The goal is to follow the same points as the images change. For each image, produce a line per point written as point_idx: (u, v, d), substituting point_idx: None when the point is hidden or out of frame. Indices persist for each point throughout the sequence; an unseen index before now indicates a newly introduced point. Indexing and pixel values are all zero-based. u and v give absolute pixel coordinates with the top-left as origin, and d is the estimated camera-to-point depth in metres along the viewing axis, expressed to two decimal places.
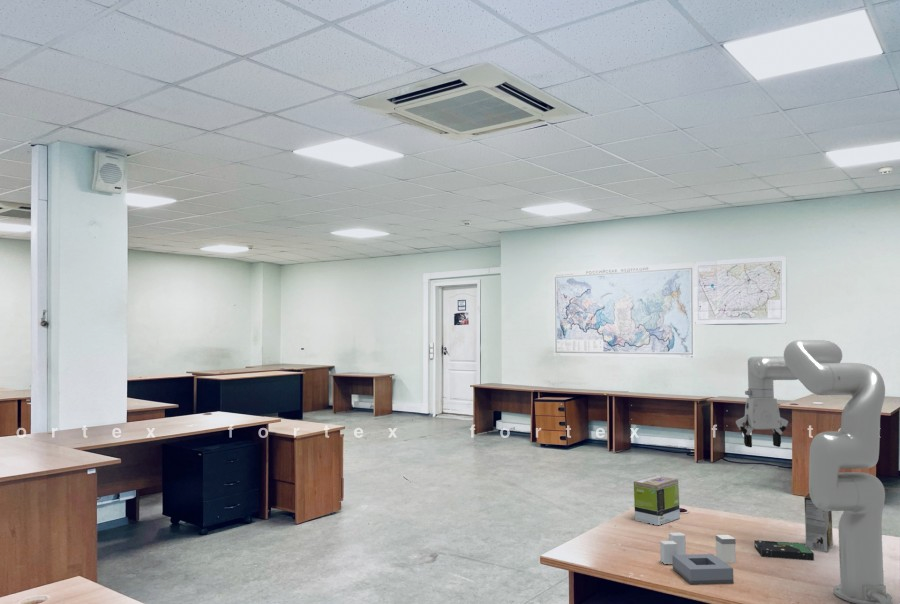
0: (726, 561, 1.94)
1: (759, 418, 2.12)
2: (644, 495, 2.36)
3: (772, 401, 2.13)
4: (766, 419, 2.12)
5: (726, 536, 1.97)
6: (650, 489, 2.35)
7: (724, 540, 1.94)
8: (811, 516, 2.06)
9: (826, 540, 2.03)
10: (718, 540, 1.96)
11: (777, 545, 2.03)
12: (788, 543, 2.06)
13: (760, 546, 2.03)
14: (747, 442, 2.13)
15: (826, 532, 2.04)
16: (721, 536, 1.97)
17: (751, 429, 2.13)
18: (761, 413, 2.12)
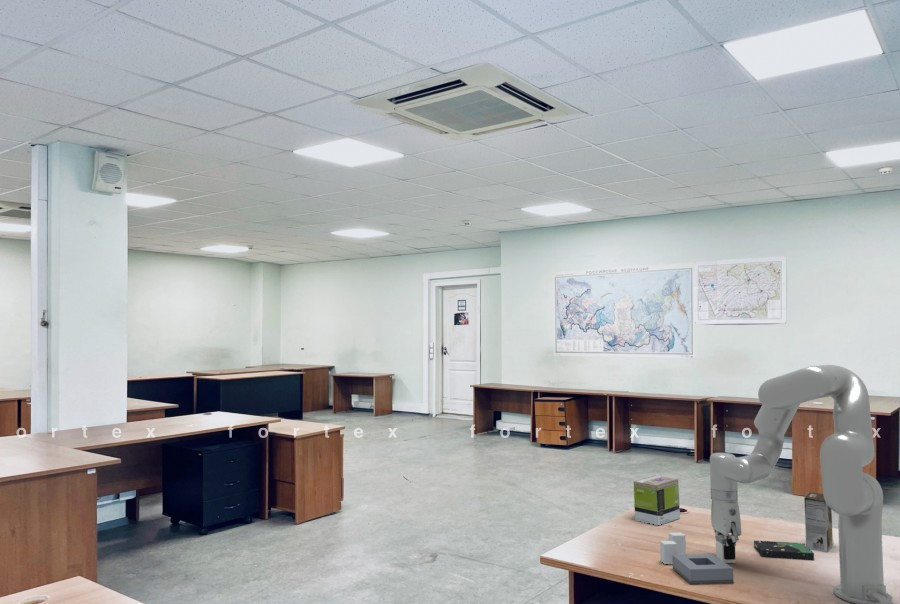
0: (726, 561, 1.94)
1: None
2: (645, 495, 2.36)
3: None
4: None
5: None
6: (650, 489, 2.35)
7: (724, 540, 1.94)
8: (811, 516, 2.06)
9: (826, 540, 2.03)
10: (718, 540, 1.96)
11: (777, 545, 2.03)
12: (788, 543, 2.05)
13: (760, 546, 2.03)
14: None
15: (826, 532, 2.04)
16: (721, 536, 1.97)
17: None
18: None
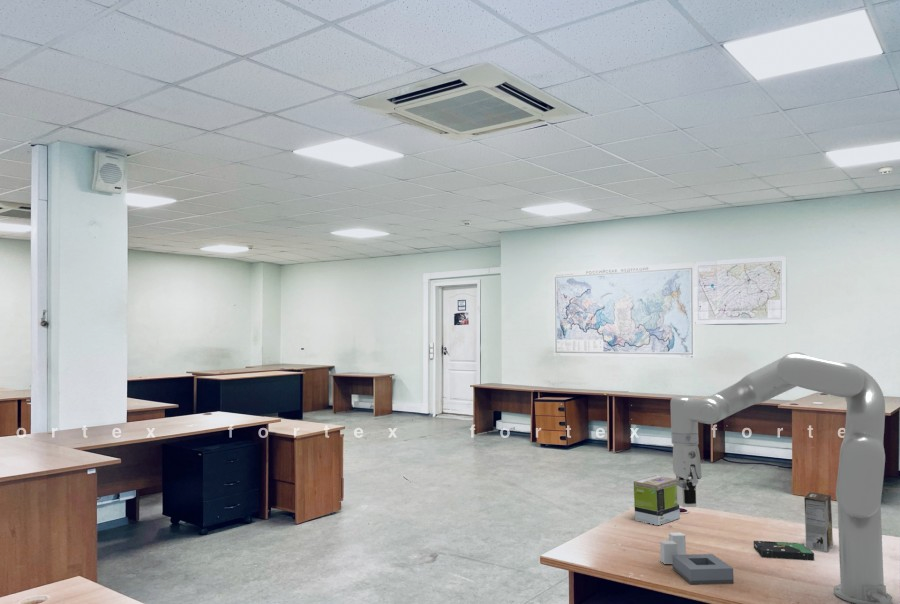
0: (686, 505, 1.90)
1: None
2: (644, 495, 2.36)
3: None
4: None
5: None
6: (650, 489, 2.35)
7: (684, 484, 1.90)
8: (811, 516, 2.06)
9: (826, 540, 2.03)
10: (679, 484, 1.92)
11: (777, 545, 2.03)
12: (787, 543, 2.05)
13: (760, 547, 2.02)
14: None
15: (826, 532, 2.04)
16: (682, 480, 1.92)
17: None
18: None
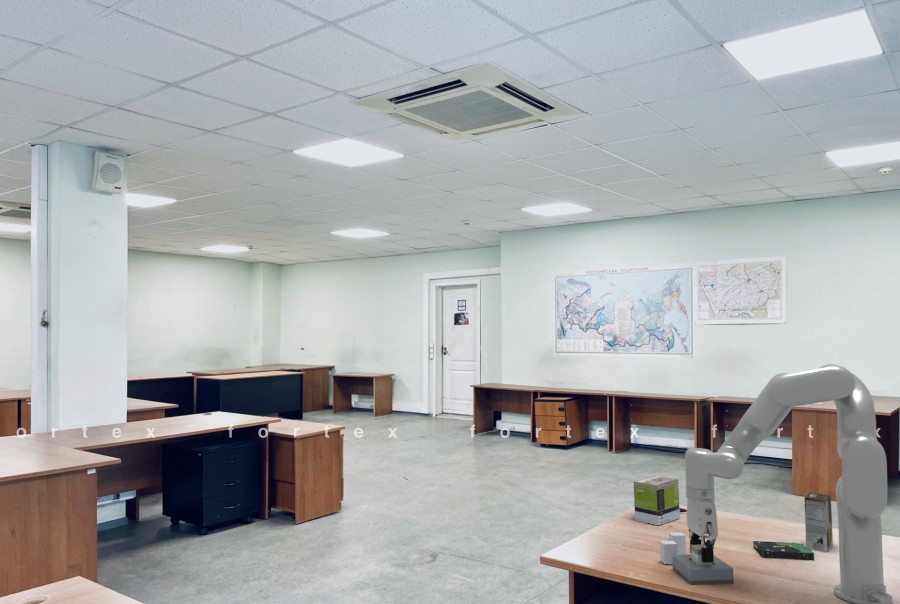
0: None
1: None
2: (644, 495, 2.36)
3: None
4: None
5: (702, 546, 1.84)
6: (650, 489, 2.35)
7: (700, 550, 1.81)
8: (811, 516, 2.06)
9: (826, 540, 2.03)
10: (694, 550, 1.84)
11: (776, 546, 2.03)
12: (787, 543, 2.05)
13: (760, 547, 2.02)
14: None
15: (826, 532, 2.04)
16: (697, 546, 1.84)
17: None
18: None
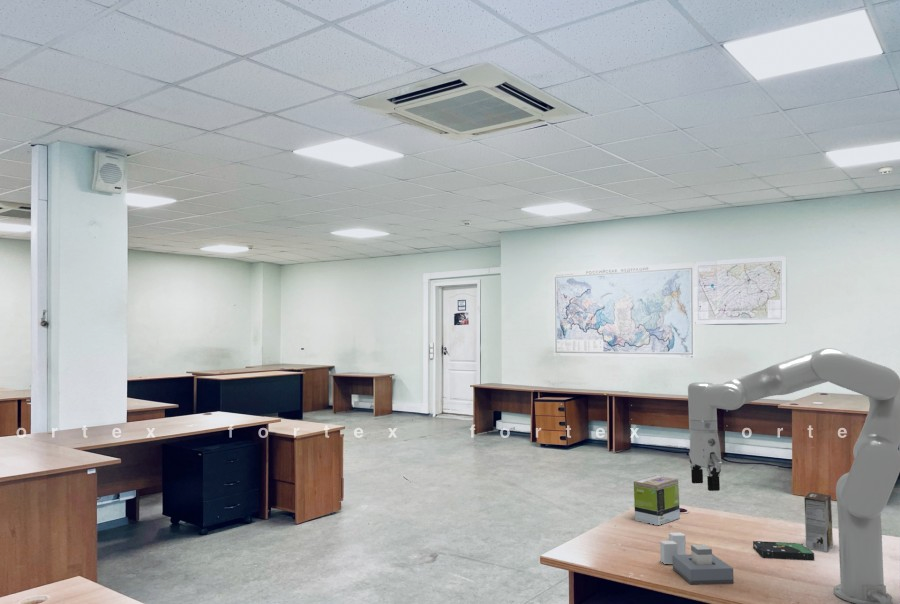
0: None
1: None
2: (644, 495, 2.36)
3: None
4: None
5: (702, 546, 1.84)
6: (650, 489, 2.35)
7: (700, 550, 1.81)
8: (811, 516, 2.06)
9: (826, 540, 2.03)
10: (694, 550, 1.84)
11: (776, 546, 2.03)
12: (786, 543, 2.05)
13: (760, 547, 2.02)
14: None
15: (826, 532, 2.04)
16: (697, 546, 1.84)
17: None
18: None
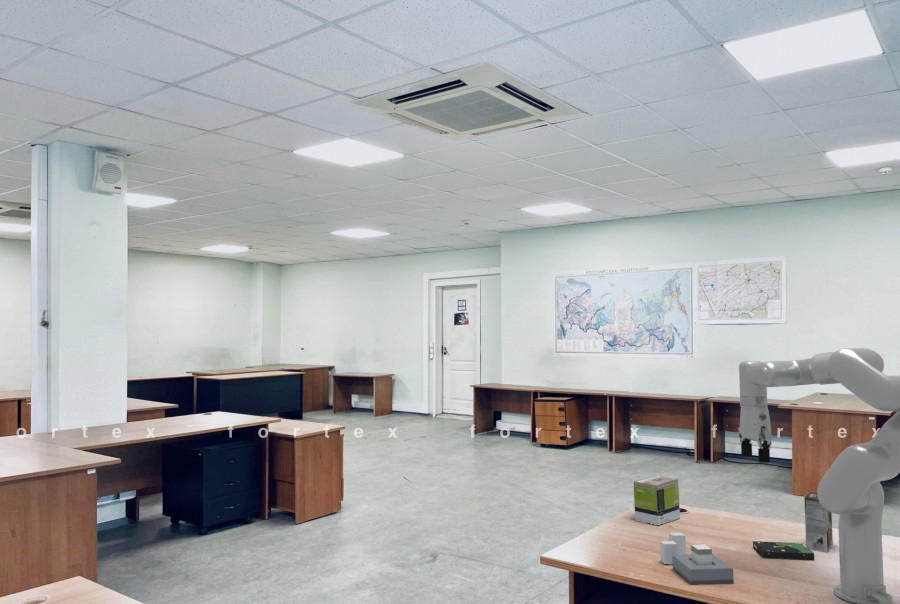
0: None
1: None
2: (644, 495, 2.36)
3: None
4: None
5: (702, 546, 1.84)
6: (650, 489, 2.35)
7: (700, 550, 1.81)
8: (811, 516, 2.06)
9: (826, 540, 2.03)
10: (694, 550, 1.84)
11: (776, 546, 2.03)
12: (786, 543, 2.05)
13: (760, 547, 2.02)
14: None
15: (826, 532, 2.04)
16: (697, 546, 1.84)
17: None
18: None
